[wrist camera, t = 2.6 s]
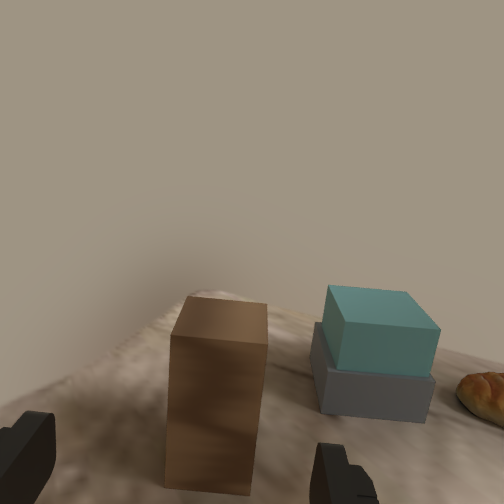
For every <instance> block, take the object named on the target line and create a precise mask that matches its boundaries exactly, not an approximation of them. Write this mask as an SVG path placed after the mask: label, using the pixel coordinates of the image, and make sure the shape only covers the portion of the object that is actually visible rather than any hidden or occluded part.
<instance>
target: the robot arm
mask: <svg viewBox="0 0 504 504" xmlns="http://www.w3.org/2000/svg"><path fill="white" fill-rule="evenodd" d="M55 460H56V432H55V416H54V414H53V413H45V412H35V411H26V412H25V413H23V414H22V416H21V417H20V418H19V419H18V420H17V422H16V423H15V424H14V425H13V426H12V428H9V427H3V428H1V429H0V504H34V503H35V501H36V499H37V498H38V496H39V494H40V493H41V491H42V489H43V488H44V486H45V484H46V483H47V481H48V480H49V478H50V476H51V474H52V471H53V468H54V465H55ZM309 500H310V504H379V501H378V500H377V494H376V491H375V488H374V485H373V482H372V480H371V478H370V477H369V476H368V474H367V473H366V472H365V471H364V469H363V468H362V467H361V466H359V465H350V464H349V463H348V459H347V455H346V451H345V448H344V446H343V445H338V444H329V443H318V445H317V449H316V454H315V460H314V465H313V471H312V476H311V482H310V493H309Z"/></svg>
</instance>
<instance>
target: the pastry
mask: <svg viewBox="0 0 504 504" xmlns="http://www.w3.org/2000/svg"><path fill="white" fill-rule="evenodd" d="M456 394H457V396H458V398H459V399H460V400H461V402H462V403H463V404H464V405H465V406H466V407H467V408H468V409H469V410H470V411H471V412H472V413H474V414H475V415H477V416H478V417H480V418H482V419H486V420H489V421H491V422H493V423H495V424H497V425H499V426H502V427H504V373H495V372H487V373H477V374H470V375H467V376H465V377H464V378H463V379H462V380H461V382H460V383H459V384H458V387H457V389H456Z"/></svg>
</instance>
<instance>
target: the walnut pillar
mask: <svg viewBox="0 0 504 504" xmlns="http://www.w3.org/2000/svg"><path fill="white" fill-rule="evenodd" d="M267 348H268V323H267V304H263V303H253V302H243V301H233V300H222V299H212V298H202V297H192V296H187V298H186V301H185V303H184V305H183V308H182V310H181V312H180V314H179V317H178V319H177V321H176V324H175V326H174V328H173V331H172V333H171V339H170V363H169V387H168V411H167V435H166V459H165V483H164V488H170V489H180V490H191V491H201V492H212V493H222V494H232V495H243V496H250V490H251V482H252V473H253V465H254V457H255V448H256V440H257V432H258V423H259V415H260V406H261V398H262V390H263V381H264V373H265V365H266V356H267Z"/></svg>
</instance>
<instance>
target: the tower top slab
mask: <svg viewBox="0 0 504 504" xmlns="http://www.w3.org/2000/svg"><path fill="white" fill-rule="evenodd" d="M322 329H323V332H324V334H325V337H326V340H327V343H328V346H329V349H330V352H331V355H332V358H333V360H334V363H335V366H336V369H337V370H347V371H359V372H371V373H383V374H395V375H407V376H419V377H429V375H430V371H431V367H432V363H433V359H434V355H435V351H436V348H437V344H438V339H439V336H440V332H441V329H440V328H439V327H438V326H437V325H436V324H435V322H434V321H433V320H432V319H431V318H430V317H429V316H428V315H427V314H426V313H425V311H424V310H423V309H422V308H421V307H420V306H419V305H418V304H417V303H416V302H415V300H414V299H413V298H412V297H411V296H410V295H409V294H408V293H407V292H402V291H391V290H380V289H369V288H358V287H346V286H335V285H328V289H327V296H326V302H325V308H324V314H323V320H322Z"/></svg>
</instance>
